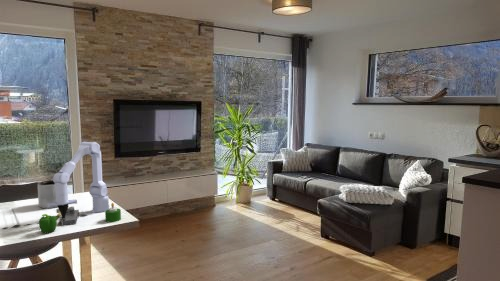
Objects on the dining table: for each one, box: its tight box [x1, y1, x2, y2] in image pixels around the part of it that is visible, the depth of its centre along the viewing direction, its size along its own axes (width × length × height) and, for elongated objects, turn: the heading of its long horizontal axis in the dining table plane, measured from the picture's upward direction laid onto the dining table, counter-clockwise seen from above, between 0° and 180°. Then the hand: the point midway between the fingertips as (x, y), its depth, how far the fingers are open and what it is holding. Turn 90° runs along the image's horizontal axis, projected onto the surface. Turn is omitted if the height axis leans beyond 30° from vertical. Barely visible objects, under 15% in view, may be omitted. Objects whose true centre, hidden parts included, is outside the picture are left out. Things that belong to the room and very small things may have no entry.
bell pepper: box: [38, 213, 58, 234], centre depth 191 cm, size 8×8×10 cm
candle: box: [104, 202, 122, 223], centre depth 209 cm, size 8×8×10 cm
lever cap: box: [55, 212, 62, 220], centre depth 204 cm, size 6×7×2 cm
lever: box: [55, 206, 75, 214], centre depth 216 cm, size 3×9×2 cm, turn 110°
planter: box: [37, 179, 58, 209], centre depth 239 cm, size 16×16×16 cm
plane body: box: [61, 209, 80, 226], centre depth 211 cm, size 20×7×2 cm, turn 21°
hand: (63, 217), depth 204 cm, fingers closed
